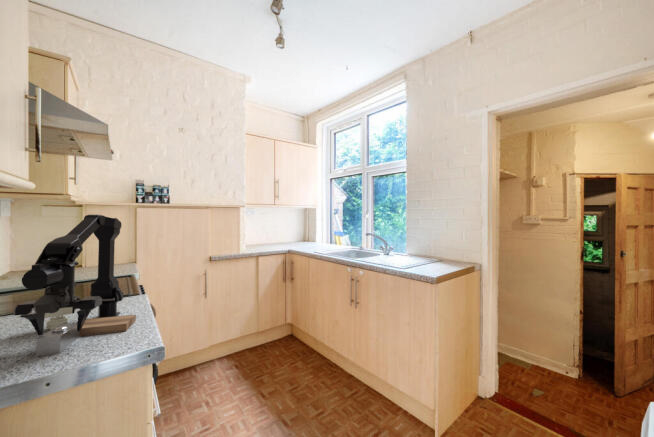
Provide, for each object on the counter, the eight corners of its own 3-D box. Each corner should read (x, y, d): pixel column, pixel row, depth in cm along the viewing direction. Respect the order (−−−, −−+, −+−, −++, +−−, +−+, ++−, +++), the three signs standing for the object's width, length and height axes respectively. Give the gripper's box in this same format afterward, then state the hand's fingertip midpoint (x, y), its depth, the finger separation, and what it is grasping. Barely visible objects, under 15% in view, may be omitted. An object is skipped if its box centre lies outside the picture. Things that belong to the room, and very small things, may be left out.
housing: (58, 340, 86) (59, 322, 86) (79, 338, 87) (79, 320, 88) (36, 356, 75) (36, 335, 75) (59, 353, 77) (60, 333, 77)
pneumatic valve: (33, 330, 93) (34, 295, 93) (79, 321, 101) (80, 290, 101) (31, 335, 89) (33, 299, 89) (79, 325, 97) (80, 293, 97)
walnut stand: (83, 326, 97) (83, 319, 97) (135, 321, 102) (135, 314, 103) (68, 337, 88) (68, 329, 88) (126, 330, 93) (126, 323, 93)
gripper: (-1, 290, 71) (-4, 349, 71) (86, 285, 78) (84, 339, 77) (28, 282, 81) (26, 333, 81) (103, 278, 88) (101, 325, 88)
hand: (60, 333), depth 82 cm, fingers open, 9 cm apart
